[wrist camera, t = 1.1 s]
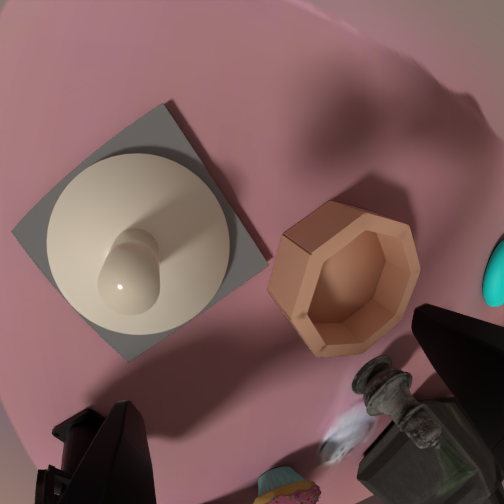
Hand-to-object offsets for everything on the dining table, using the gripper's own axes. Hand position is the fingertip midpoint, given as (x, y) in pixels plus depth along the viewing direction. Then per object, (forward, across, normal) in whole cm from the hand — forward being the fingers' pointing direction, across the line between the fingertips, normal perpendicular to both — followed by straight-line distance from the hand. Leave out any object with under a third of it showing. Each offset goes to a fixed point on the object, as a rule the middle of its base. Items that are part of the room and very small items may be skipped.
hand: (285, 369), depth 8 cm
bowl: (+12, -8, +6) cm, 15 cm away
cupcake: (+10, +2, +33) cm, 35 cm away
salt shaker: (+12, -12, +20) cm, 26 cm away
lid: (+11, +5, 0) cm, 12 cm away
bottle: (+11, -21, +40) cm, 47 cm away
